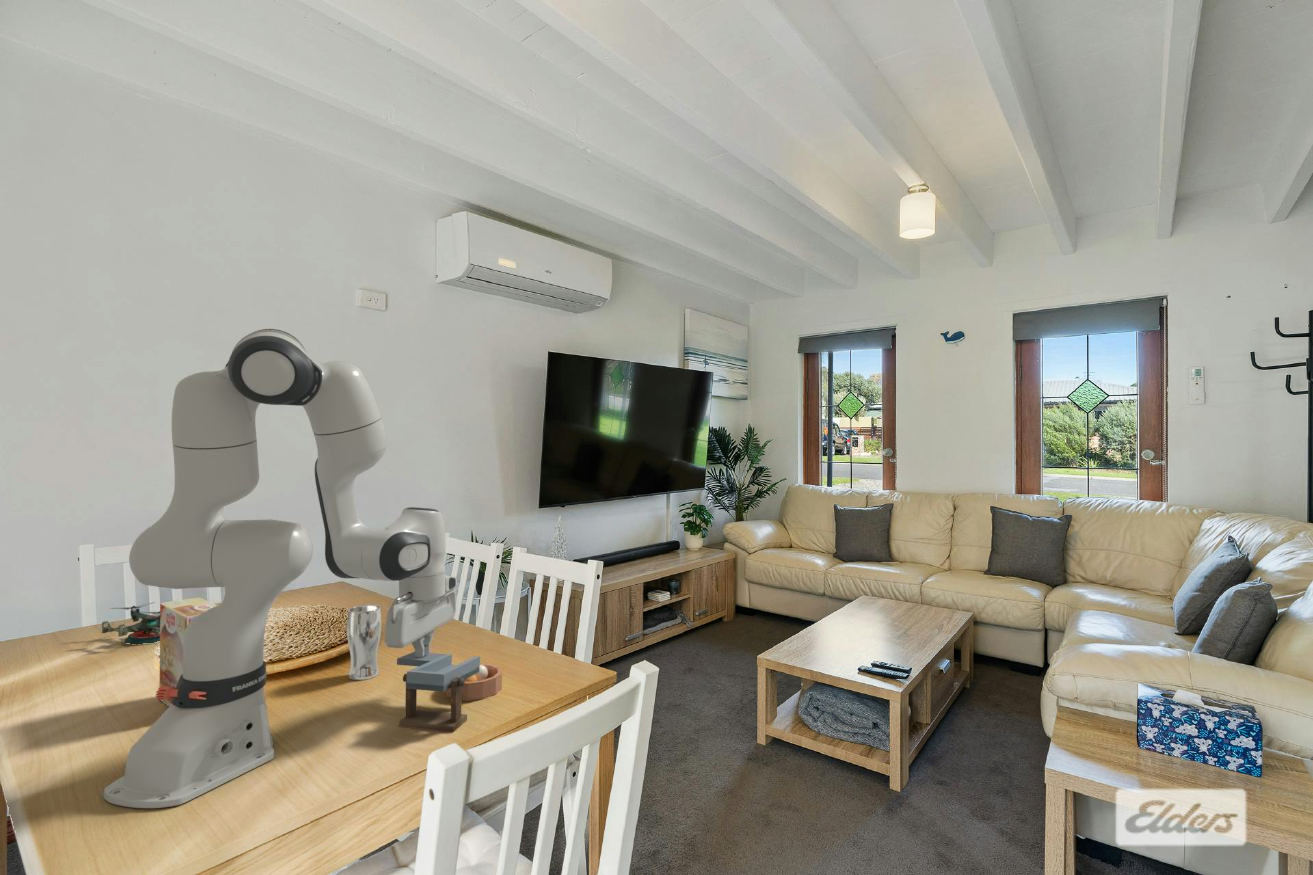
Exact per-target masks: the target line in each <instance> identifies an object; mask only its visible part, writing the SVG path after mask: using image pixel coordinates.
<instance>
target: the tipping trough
mask: <svg viewBox="0 0 1313 875" xmlns="http://www.w3.org/2000/svg"><path fill="white" fill-rule="evenodd" d="M452 657H453V653H452V654H451V653H449V654H448V653H436V652H430V653H428V654H426V655H425V656H423V657H422V658H418V657H415V651H413V652H410V653H408V654H405V655H402V656H400V657H398V658H396V666H409V667H414V668H412V669H410V670H407V671H406V674H407V681H406V682H405V690H406V689H417V690H420V691H429V692H441V693H443V692H445V691H446V692H447V689H449V688H451V681H452V680H453V679H455V678H456V677H462V678H464V679H467V678H469V677H471V676H473V675H474V674H476V673H478V672H479V667H480V662H481V656H479V655H478V656H477V655H474V656H473V657H470V658H468V659H466V660H464V661H463V662H460V663H458V664H452V662H453V661H452V660H453V658H452Z"/></svg>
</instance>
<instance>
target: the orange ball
mask: <svg viewBox="0 0 1313 875" xmlns="http://www.w3.org/2000/svg"><path fill="white" fill-rule="evenodd" d="M473 681H477V678H476V676H475V675H473V676H471V677H469V678H467V679H465V682H473Z"/></svg>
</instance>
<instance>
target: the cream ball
mask: <svg viewBox="0 0 1313 875" xmlns="http://www.w3.org/2000/svg"><path fill="white" fill-rule="evenodd" d="M474 675H475V676H476V678H477V681H481V680H485V679H486V677H487V675H488V670H487V668H486V667H485V666H483V665H480V667H479V672H478V673H476V674H474Z"/></svg>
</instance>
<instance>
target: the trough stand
mask: <svg viewBox="0 0 1313 875" xmlns="http://www.w3.org/2000/svg"><path fill="white" fill-rule="evenodd" d="M402 681H403V682H405V683H406V681H407V673H404V675H403V676H402ZM464 683H465V679H464V678H462V677H456V678H455V679H453V680H452V681H451V698H450V712H444V711H437V710H436V711H434V710H424V709H423V710H422V709H417V699H418V697H417V695H418V694H417V693H418V692H417V689H406V688H405V710H404V711H405V714H404V717H402V718H401V719H400V720H398V727H400V728H401V727H402V728H410V729H411V728H412V729H418V730H419V729H421V730H422V729H423V730H431V731H441V732H451V733H454V732H455V731H457V729H458V728H459V727H461V726H462V725H463V724H464V723H465V722H467V721H468V714H466V713H462V700H461V692H462V686H464Z"/></svg>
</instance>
